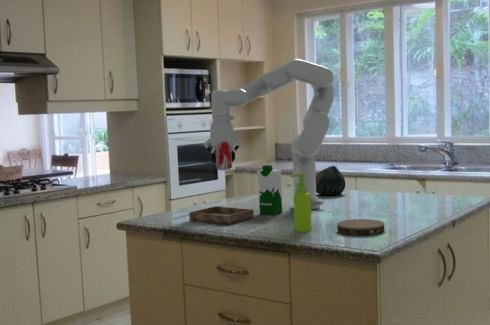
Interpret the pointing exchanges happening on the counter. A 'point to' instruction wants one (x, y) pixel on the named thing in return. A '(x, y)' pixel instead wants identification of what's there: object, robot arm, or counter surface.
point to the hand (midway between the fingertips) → (223, 161)
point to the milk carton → (270, 190)
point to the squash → (330, 181)
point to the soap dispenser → (302, 206)
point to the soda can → (223, 156)
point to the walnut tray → (221, 215)
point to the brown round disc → (360, 227)
